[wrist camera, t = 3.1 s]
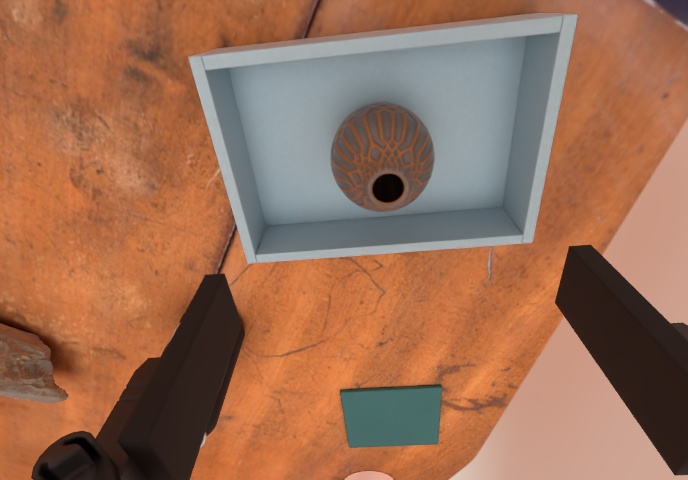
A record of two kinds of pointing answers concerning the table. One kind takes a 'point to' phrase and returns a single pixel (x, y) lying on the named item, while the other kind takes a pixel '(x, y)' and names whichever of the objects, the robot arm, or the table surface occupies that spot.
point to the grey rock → (26, 367)
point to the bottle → (368, 476)
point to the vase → (382, 156)
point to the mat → (392, 416)
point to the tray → (403, 89)
